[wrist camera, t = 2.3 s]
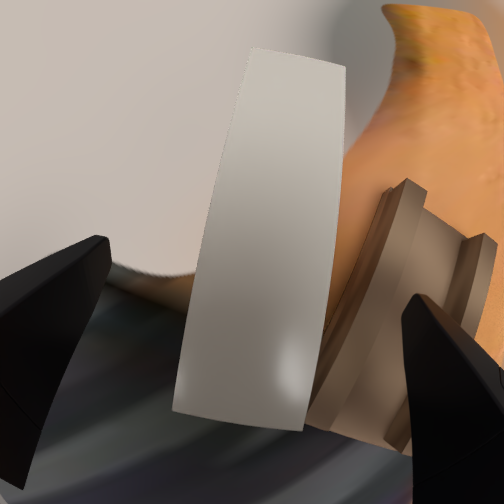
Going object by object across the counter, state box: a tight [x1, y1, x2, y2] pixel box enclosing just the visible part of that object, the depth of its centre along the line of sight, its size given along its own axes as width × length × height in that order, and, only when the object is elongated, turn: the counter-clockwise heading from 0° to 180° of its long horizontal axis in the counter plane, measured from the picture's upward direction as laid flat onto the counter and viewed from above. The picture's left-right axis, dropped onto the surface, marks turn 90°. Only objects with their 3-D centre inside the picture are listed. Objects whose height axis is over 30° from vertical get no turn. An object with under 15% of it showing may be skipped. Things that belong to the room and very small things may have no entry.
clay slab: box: [172, 47, 346, 431], centre depth 13 cm, size 12×4×10 cm, turn 170°
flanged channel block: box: [304, 178, 498, 456], centre depth 16 cm, size 15×8×4 cm, turn 153°
